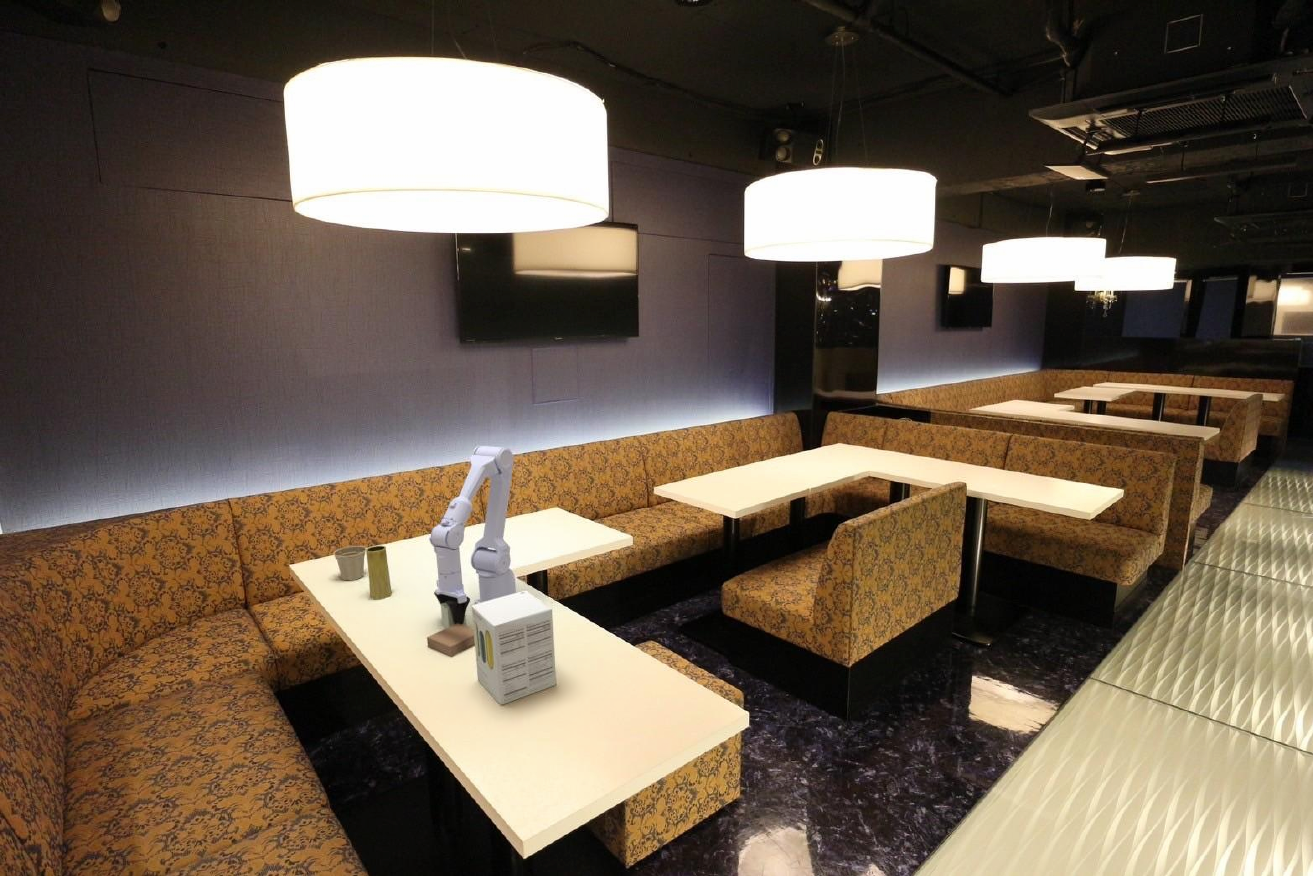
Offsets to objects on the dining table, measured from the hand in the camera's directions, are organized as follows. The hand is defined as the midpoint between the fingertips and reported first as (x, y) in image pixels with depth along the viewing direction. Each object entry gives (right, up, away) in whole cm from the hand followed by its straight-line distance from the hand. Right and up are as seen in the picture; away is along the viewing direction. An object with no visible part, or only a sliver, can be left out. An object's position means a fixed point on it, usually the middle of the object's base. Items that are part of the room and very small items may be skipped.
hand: (453, 620), depth 173 cm
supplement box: (+22, -6, -28) cm, 36 cm away
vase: (-28, +1, +21) cm, 35 cm away
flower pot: (-43, +3, +36) cm, 56 cm away
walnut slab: (+3, -4, -10) cm, 11 cm away
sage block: (0, -1, 0) cm, 2 cm away
